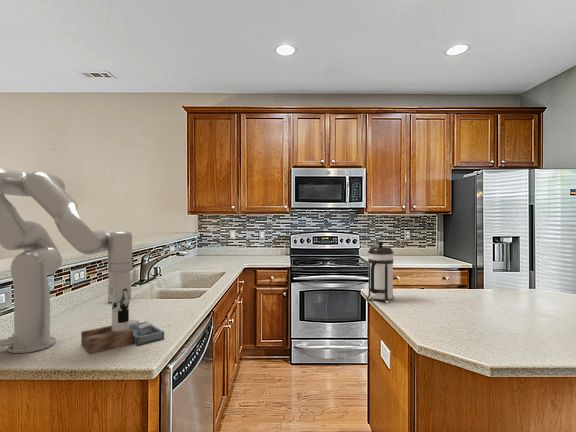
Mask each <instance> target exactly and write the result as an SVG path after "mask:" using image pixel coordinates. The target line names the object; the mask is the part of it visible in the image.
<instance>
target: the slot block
mask: <svg viewBox="0 0 576 432" xmlns="http://www.w3.org/2000/svg"><path fill="white" fill-rule="evenodd" d="M80 332H81V335H80V336H81V338H80V339H81V341H80V343H81V346H82V348H83V349H84V350H85V351H86V352H87V353H88V355H93V354H97V353H100V352H101V353H102V352H105V351H109V350H112V349H113V350H114V349H118V348H121V347H125V346H129V345H133V344H134V343H133V330H132V329H130V330H126V331H121V332H117V333H116V332H113V331H112V324H110V325H108V326H102V327H96V328H93V329H88V330H83V331H82V330H81V331H80Z"/></svg>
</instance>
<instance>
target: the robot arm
mask: <svg viewBox="0 0 576 432" xmlns="http://www.w3.org/2000/svg"><path fill="white" fill-rule="evenodd" d="M5 195H8V196H17V197H31V198H32V199H33V200H34V201H35V202H36V203H37V204H38V205H39V206H40V207H41V208H42V209H43V210H44V211H45V212H46V213H47V214H48V215H49V216H50V217H51V218H52V219H53V220H54V224H55V226H56V227H57V229H58V230H57V231H58V232H59V234H61V236H62V237H63V238H64V239H65V240H66V241H67V242H68V244H70V246H72V247H73V248H74V249H75V250H76V251H78V252H79V253H81V254H83V255H89V256H90V255H94V254H99V253H103V252H107V273H108V279H109V280H108V284H107V299H108V298H109V299H110V300H111V301H112V303H111V310H112V309H113V308H115V307H117V303H118V305H119V311H118V323H123V322H128V320H130V307H129V305H130V300H131V299H132V282H131V272H132V271H133V233H132V232H131V231H128V230H115V231H108V230H107V231H106V230H93V229H92V228H90V227H89V226H88V225H87V224H86V223H85V222H84V221H83V220H82V219H81V217H80V216H79V213H78V205H79V204H78V203H77V201H76V200H75V199H74V198H73V197H72V196H71V195H70V194H69V193H68V192H67V191H66V185H65V182H64V180H63V179H62V178H61V177H59V176H58V175H55V174H53V173H48V172H45V171H34V172H26V171H25V172H24V171H18V170H14V169H7V168H4V167H0V247H2V248H3V249H4V250H7V251H23V252H19V254H17V255H16V256H15V257H14V258H13V260H12V262H11V264H10V274H11V279H12V284H13V303H14V304H13V333H12V334H11V336H8V337H7V338H1V339H0V348H3V347H7V351H8V352H9V353H11V354H26V353H27V354H29V353H33V352H38V351H42V350H45V349H47V348H50V347H51V346H53V345H55V344H56V341H57V340H56V338H55V337H54V336H51V288H50V283H49V280H48V275H51V274H54V273H56V272H57V271H58V270H59V269H60V268H61V266H62V264H63V263H62V262H63V256H62V255H61V252H60V251H59V249H58V247H57V245H56V244H55V243H54V240H53V239H52V238H51V236H50V234H49V233H48V231H47V229H45V227H43V226H42V225H41V224H40V223H38V222H36V221H30V220H24V219H23V218H22V216H21V215H20V214H19V212H18V210H17V208H16V207H15V206H14V205H13V203H11V201H10V200H8V199H7V197H6V196H5ZM122 299H124V301H120V300H122ZM121 303H124V304H122V306H121Z"/></svg>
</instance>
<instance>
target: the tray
mask: <svg viewBox="0 0 576 432" xmlns="http://www.w3.org/2000/svg"><path fill="white" fill-rule="evenodd" d="M146 322H147V323H149V324H151V325H152V332H149V333H146V334H144V335H140V334H138V333H137V330H133V344H134V345H136V346H141V345H145V344H146V345H147V344H149V343H153V342H157V341H161V340H165V331H163V330H162V329H160V328H158V327H157V326H155V325H153V324H152V323H150V322H148V321H142V322H139V325H140V324H143V323H146Z"/></svg>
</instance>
